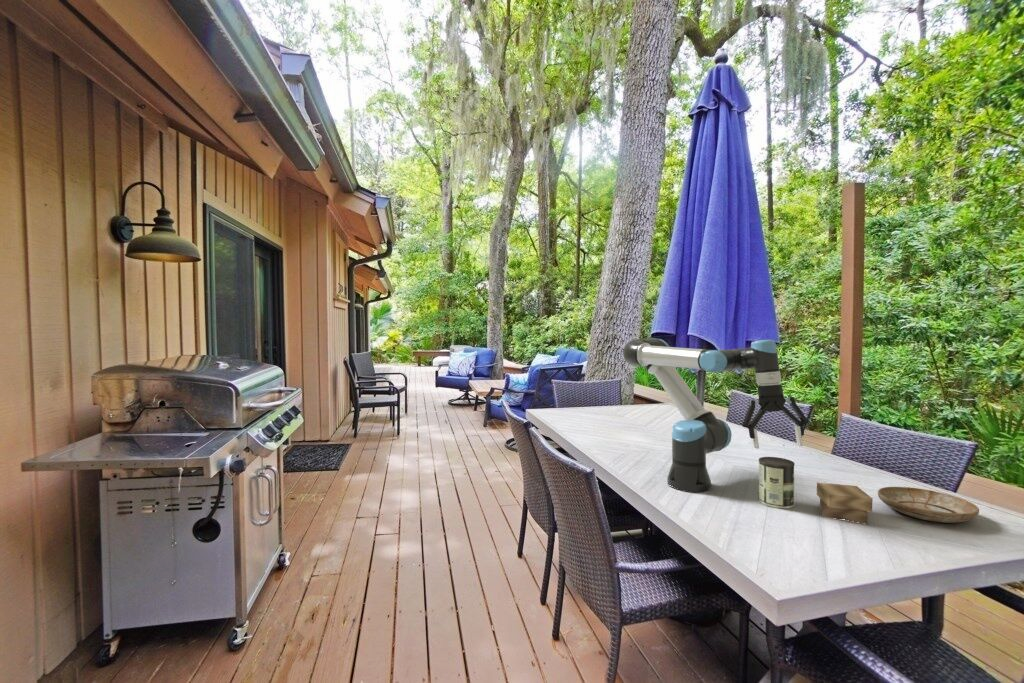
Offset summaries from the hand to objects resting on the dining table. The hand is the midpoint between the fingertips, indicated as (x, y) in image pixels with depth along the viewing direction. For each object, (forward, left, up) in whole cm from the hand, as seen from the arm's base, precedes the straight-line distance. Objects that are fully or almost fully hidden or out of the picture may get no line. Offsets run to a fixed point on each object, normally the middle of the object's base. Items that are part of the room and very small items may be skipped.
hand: (778, 446), depth 153 cm
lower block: (+17, -5, -18) cm, 26 cm away
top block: (+18, -5, -14) cm, 23 cm away
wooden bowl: (+40, +8, -18) cm, 44 cm away
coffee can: (0, -5, -18) cm, 19 cm away
